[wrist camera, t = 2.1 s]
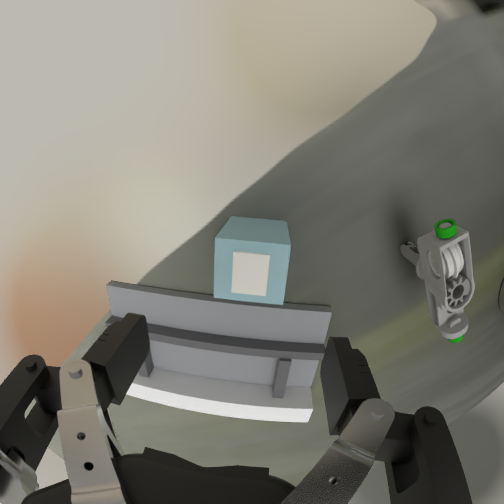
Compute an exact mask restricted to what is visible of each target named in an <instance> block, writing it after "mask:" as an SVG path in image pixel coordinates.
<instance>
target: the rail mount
mask: <svg viewBox="0 0 504 504" xmlns="http://www.w3.org/2000/svg"><path fill="white" fill-rule="evenodd" d="M107 291H108V297H109V302H110V308H111V313H112V316H111V317H110V318H109V319H108V320H107V322H106V327H108V326H109V325H111V324H113V323H115V322H116V321H121V320H122V319H123V318H124V317H125V315H126V314H127V313H129V312H130V313H135V314H141V315H144V316H145V317H146V321H147V327H148V334H149V340H150V349H149V353H148V356H147V357H146V359H145V361H144V363H143V364H142V366H141V368H140V370H139V372H138V373H137V375H136V377H135V379H134V381H133V382H132V384H131V386H130V388H129V390H128V391H127V393H126V394H127V395H130V396H134V397H137V398H141V399H144V400H148V401H152V402H156V403H160V404H164V405H168V406H173V407H177V408H182V409H187V410H192V411H197V412H202V413H208V414H215V415H221V416H228V417H236V418H245V419H255V420H267V421H283V422H308V420H309V418H310V415H311V413H312V410H313V404H312V395H311V385H312V382H313V379H314V375H315V372H316V369H317V366H318V362H319V360H321V361H322V360H323V357H324V354H325V347H324V341H325V338H326V334H327V330H328V326H329V322H330V318H331V314H332V311H331V308H330V306H319V305H305V304H293V303H283V305H278V304H267V303H257V302H247V301H238V300H229V299H220V298H214V295H206V294H198V293H190V292H183V291H176V290H169V289H162V288H155V287H148V286H142V285H136V284H129V283H123V282H117V281H111V282H109V283H108V284H107Z"/></svg>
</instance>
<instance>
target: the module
mask: <svg viewBox="0 0 504 504" xmlns="http://www.w3.org/2000/svg"><path fill="white" fill-rule="evenodd" d="M290 249H291V242H290V237H289V231H288V226H287V221H280V220H270V219H259V218H248V217H236V216H231V217H230V218H229V220H228V221H227V222H226V224H225V225H224V226H223V228H222V229H221V230H220V232H219V233H218V235H217V236H216V237H215V257H214V298H220V299H229V300H238V301H247V302H257V303H267V304H278V305H283V301H284V294H285V287H286V280H287V272H288V265H289V257H290Z"/></svg>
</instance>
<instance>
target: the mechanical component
mask: <svg viewBox="0 0 504 504" xmlns="http://www.w3.org/2000/svg"><path fill="white" fill-rule="evenodd" d="M434 227H435V230H433V231H431V232H429V233H427V234H425V235H423V236H421V237H419V238H418V239H417V246H418V247H417V246H416V245H414V244H413V243H412V242H410V241H409V242H408V245H407V246H406V245H401V247H400V252H401V254H402V255H403V256H404V257H406V258H407V259H408V260H409V261H410V262H411V263H412V264H414V265H415V266H416V272H417V275H418V277H419V278H420V279H422V280H424V282H425V288H426V295H427V302H428V309H429V314H430V317H431V320H432V322H433V324H434V325H435V327H436V328H437V329H438V331H439V332H440V333H441V335H442V336H443V337H445V338H447V339H448V340H449V341H450V342H452V343H457V342H459V341H461V340H462V339H463V337H464V333H465V332H466V331H467V329H468V317H467V316H466V315H465V314H464V313H463V307H464V306H466V305H467V304H468V303H469V301H470V300H471V298H472V296H473V293H474V288H475V283H474V280H473V270H472V258H471V248H470V239H469V232H468V231H466V230H464V229H462V228H460V227H458V226H456V224H455V221H454V220H452V219H444V220H441V221H439V222H437V223H436V224H435V226H434ZM458 242H459V243H460V244H461V246H462V248H463V251H464V255H465V263H464V261H463V255H462V252H461V249H460V247H459V245H458V244H457V243H458Z"/></svg>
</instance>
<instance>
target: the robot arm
mask: <svg viewBox="0 0 504 504" xmlns="http://www.w3.org/2000/svg"><path fill="white" fill-rule="evenodd" d="M499 306H500V309H501V310H502V312H503V313H504V281H503V284H502V287H501V290H500V296H499ZM149 349H150V340H149V334H148V327H147V321H146V317H145V316H144V315H141V314H135V313H130V312H129V313H127V314H126V315H125V317H124V318H123V319H122V320H121V321H116V322H115V323H113V324H111V325H109V326H108V327H107V328H106V330H105V331H104V332H103V334H101V336H100V337H99V338H98V340H96V342H95V343H94V344H93V345H92V346H91V348H90V349H89V350H88V351H87V353H86V354H85V355H84V356H83V358H82V359H73V360H70V361H67V362H66V363H64V364H63V365H62V367H52V366H46V364H45V361H44V359H43V358H42V357H41V356H38V355H29V356H27V357H25V358H23V359H22V360H21V361H20V362H19V363H18V365H17V366H16V367H15V368H14V370H13V371H12V372H11V373H10V374H9V375H8V377H7V378H6V379H5V380H4V382H3V383H2V384H1V385H0V502H1V503H2V504H348V502H349V501H350V500H351V498H352V497H353V495H354V494H355V492H356V491H357V489H358V488H359V486H360V485H361V483H362V482H363V480H364V478H365V477H366V475H367V474H368V472H369V470H370V469H371V467H372V465H373V463H374V461H375V460H378V461H384V462H385V468H386V473H387V480H388V486H389V494H390V501H391V504H472V500H471V496H470V493H469V489H468V485H467V482H466V478H465V475H464V472H463V469H462V465H461V462H460V459H459V456H458V453H457V450H456V448H455V445H454V442H453V439H452V437H451V434H450V431H449V429H448V426H447V424H446V421H445V419H444V416H443V415H442V413H441V412H440V411H439V410H437V409H436V408H433V407H428V406H426V407H422V408H420V409H418V410H417V411H416V413H415V414H414V415H412V414H405V413H399V412H395V411H394V409H393V407H392V406H391V405H390V404H389V403H388V402H386V401H384V400H382V399H381V398H380V395H379V393H378V390H377V387H376V384H375V382H374V379H373V376H372V374H371V371H370V368H369V367H368V363H367V360H366V358H365V356H364V355H363V354H362V353H361V352H360V351H359V350H358V349H352V348H351V345H350V342H349V339H348V338H347V337H330V338H329V340H328V344H327V347H326V350H325V354H324V357H323V360H322V364H321V371H320V374H321V381H322V387H323V393H324V399H325V406H326V412H327V418H328V425H329V432H330V435H339V437H338V439H337V440H336V441H335V442H334V443H333V444H332V445H331V447H330V448H329V449H328V450H327V452H326V453H325V454H324V455H323V457H322V458H321V459H320V460H319V462H318V463H317V464H316V465H315V466H314V468H313V469H312V470H311V471H310V472H309V473H308V475H307V476H306V477H305V478H304V479H303V480H302V481H301V482H300V483H299V485H298V486H297V487H295V486H293V485H292V484H290V483H289V482H287V481H285V480H283V479H280V478H277V477H275V476H271V475H269V468H262V467H249V466H239V465H236V466H224V467H201V466H199V465H196V464H194V463H192V462H189V461H187V460H185V459H183V458H180V457H178V456H176V455H174V454H170V453H166V452H162V451H158V450H155V449H151V448H147V447H145V449H144V452H143V454H127V455H125V454H124V452H123V450H122V448H121V446H120V443H119V441H118V438H117V435H116V432H115V429H114V425H113V422H112V419H111V415H110V412H109V409H108V407H109V405H110V403H114V404H117V405H120V404H121V403H122V401H123V399H124V397H125V395H126V393H127V391H128V390H129V388H130V386H131V384H132V382H133V381H134V379H135V377H136V375H137V373H138V372H139V370H140V368H141V366H142V364H143V363H144V361H145V359H146V357H147V356H148V353H149ZM34 398H35V400H36V404H35V405H34V407H33V408H32V410H31V411H30V413H29V414H28V416H27V417H26V419H25V417H24V414H25V411H26V409H27V408H28V406H29V405H30V403H31V402H32V400H33V399H34ZM58 426H59V432H60V439H61V445H62V450H63V456H64V460H65V465H66V470H67V474H68V478H69V479H67V480H64V481H62V482H59V483H56V484H54V485H51V486H48V487H45V488H43V489H40V490H38V489H39V484H38V483H37V476H36V473H35V471H36V469H37V467H38V465H39V463H40V461H41V459H42V457H43V455H44V453H45V451H46V449H47V447H48V445H49V443H50V441H51V439H52V437H53V436H54V434H55V432H56V430H57V428H58Z"/></svg>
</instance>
